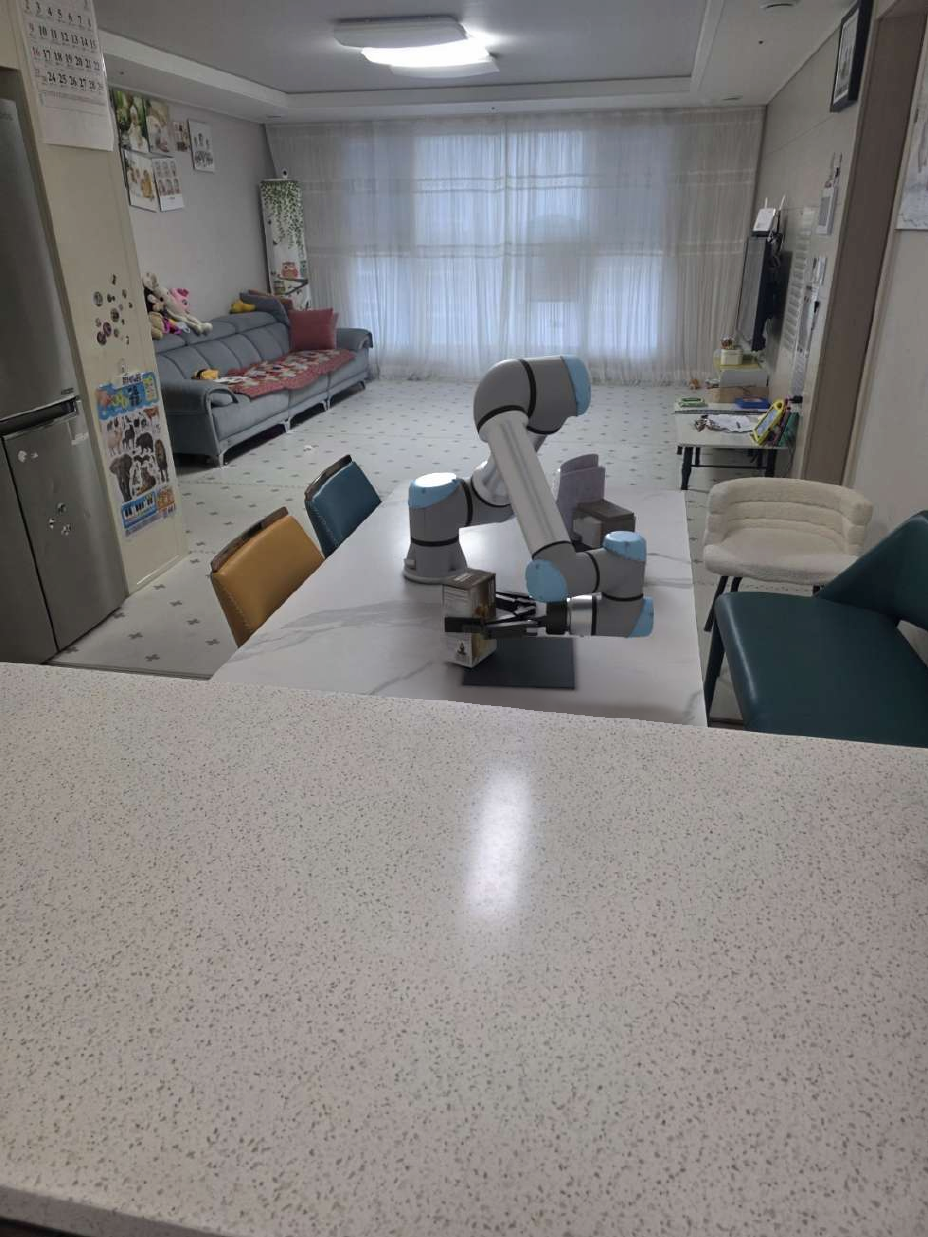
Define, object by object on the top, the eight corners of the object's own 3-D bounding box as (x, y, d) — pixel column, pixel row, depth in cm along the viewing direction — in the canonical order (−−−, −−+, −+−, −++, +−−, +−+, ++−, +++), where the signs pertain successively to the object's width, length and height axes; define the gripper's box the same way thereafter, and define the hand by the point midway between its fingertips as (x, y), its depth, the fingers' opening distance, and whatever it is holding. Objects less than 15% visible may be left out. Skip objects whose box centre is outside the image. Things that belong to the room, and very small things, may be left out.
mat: (472, 636, 167) (472, 634, 167) (571, 638, 165) (572, 637, 165) (462, 685, 149) (462, 683, 149) (573, 688, 147) (574, 687, 147)
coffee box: (469, 642, 163) (468, 566, 156) (497, 649, 160) (497, 572, 153) (443, 660, 156) (441, 582, 149) (472, 668, 153) (471, 589, 146)
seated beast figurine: (537, 505, 246) (538, 466, 241) (564, 503, 248) (566, 463, 243) (547, 514, 238) (549, 474, 233) (576, 512, 240) (577, 471, 234)
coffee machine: (531, 537, 221) (533, 446, 210) (582, 527, 227) (586, 439, 216) (594, 574, 196) (599, 473, 186) (649, 562, 202) (657, 464, 192)
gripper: (567, 662, 143) (441, 658, 146) (566, 608, 164) (455, 605, 166) (568, 623, 140) (439, 619, 142) (567, 573, 161) (454, 570, 163)
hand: (448, 611), depth 154 cm, fingers closed on coffee box, 10 cm apart
